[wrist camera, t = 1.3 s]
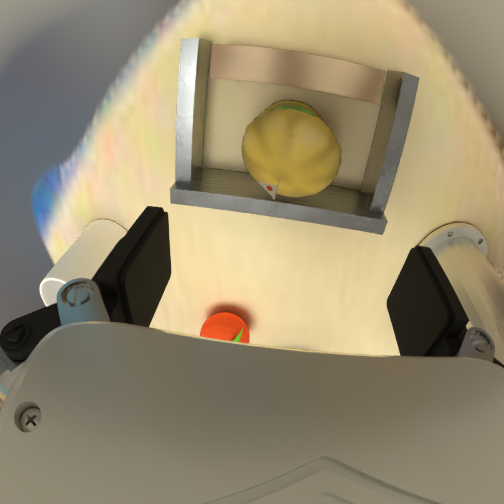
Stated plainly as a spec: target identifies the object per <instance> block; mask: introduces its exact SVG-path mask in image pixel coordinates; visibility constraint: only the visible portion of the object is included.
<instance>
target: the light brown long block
mask: <svg viewBox="0 0 504 504" xmlns="http://www.w3.org/2000/svg"><path fill="white" fill-rule="evenodd" d="M384 75H385V71H382V70H378V69H375V68H371V67H367V66H364V65H360V64H356V63H352V62H347V61H343V60H338V59H334V58H329V57H324V56H319V55H313V54H307V53H301V52H295V51H288V50H281V49H272V48H263V47H253V46H239V45H220V44H213V45H212V56H211V67H210V78H217V79H233V80H245V81H255V82H264V83H273V84H280V85H287V86H294V87H300V88H306V89H312V90H318V91H323V92H328V93H333V94H338V95H343V96H347V97H351V98H356V99H360V100H364V101H368V102H372V103H376V104H379V102H380V97H381V91H382V86H383V81H384Z"/></svg>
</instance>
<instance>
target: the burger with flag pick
mask: <svg viewBox="0 0 504 504" xmlns="http://www.w3.org/2000/svg"><path fill="white" fill-rule="evenodd" d="M242 157H243V160H244V163H245V166H246V168H247V170H248V171H249V173H250V174H251V176H252V177H253V178H254V179H255V180H256V181H257V182H258V183H259V184H260V185H262V186H263V188H265V189H266V190H267V192H268V193H269V194H270V195H271V196H272V197H273V199H275V197H276V193H277V194H280V195H283V196H288V197H304V196H309V195H313V194H316V195H318V194H317V193H318V192H320V191H322V190H323V189H324V188H326V187H327V186H328V185H329V184H330V183H331V182H332V181H333V179H334V178H335V177H336V175H337V173H338V170H339V167H340V164H341V148H340V145H339V144H338V142H337V139H336V137H335V136H334V134H333V133H332V131H331V129H330V128H329V127H328V126H327V125H325V124H324V123H323V121H322V119H321V118H320V117H319V115H318V114H317V113H316V112H315V111H314V110H313V109H312V108H311V107H310V106H309V105H306V104H304V103H302V102H296V101H287V100H282V101H279V102H277V103H273V104H272V105H271V106H270V107H268V108H267V109H265V110H264V112H262V113H261V114H260V115H259V116H258V117H256V118H255V119H254V121H253V122H252V123H250V124H249V125H248V126H247V128H246V132H245V135H244V137H243V141H242Z"/></svg>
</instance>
